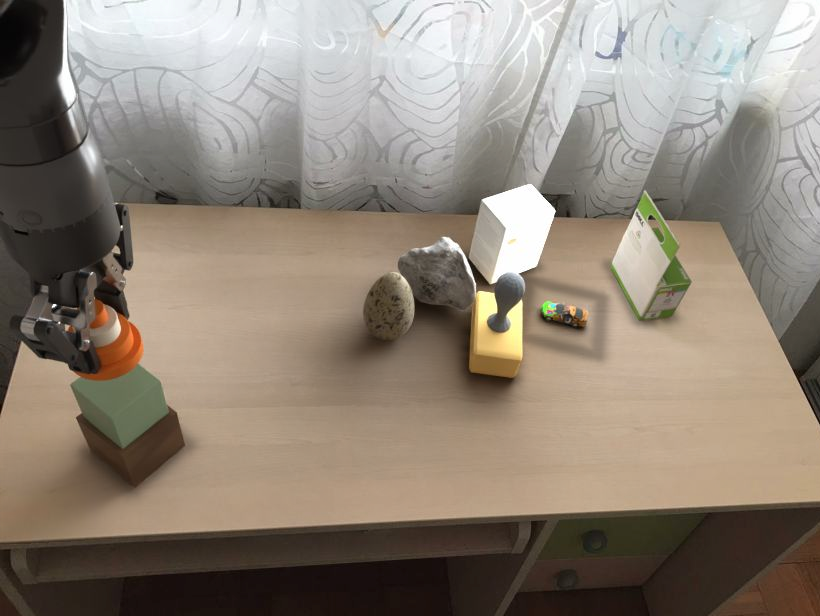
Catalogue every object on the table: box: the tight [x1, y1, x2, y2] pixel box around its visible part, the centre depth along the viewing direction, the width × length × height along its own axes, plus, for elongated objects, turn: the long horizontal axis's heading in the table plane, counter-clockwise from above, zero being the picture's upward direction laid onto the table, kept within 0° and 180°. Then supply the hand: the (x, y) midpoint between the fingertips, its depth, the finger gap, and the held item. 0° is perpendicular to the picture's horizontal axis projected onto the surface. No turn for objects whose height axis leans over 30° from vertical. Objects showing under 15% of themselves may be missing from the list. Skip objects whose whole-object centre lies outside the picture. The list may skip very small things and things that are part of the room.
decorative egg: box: [362, 271, 415, 341], centre depth 87 cm, size 6×6×10 cm
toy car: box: [540, 301, 588, 329], centre depth 96 cm, size 3×6×2 cm, turn 80°
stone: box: [397, 236, 477, 311], centre depth 91 cm, size 9×7×10 cm
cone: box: [67, 298, 144, 381], centre depth 61 cm, size 6×6×6 cm
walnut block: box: [75, 404, 186, 489], centre depth 74 cm, size 6×6×6 cm
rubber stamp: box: [468, 272, 526, 379], centre depth 88 cm, size 10×6×12 cm, turn 177°
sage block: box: [69, 362, 169, 449], centre depth 69 cm, size 5×5×5 cm
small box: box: [468, 183, 556, 285], centre depth 97 cm, size 8×6×10 cm
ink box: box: [609, 189, 693, 321], centre depth 96 cm, size 10×5×14 cm, turn 16°
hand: (101, 343), depth 63 cm, fingers closed on cone, 5 cm apart
